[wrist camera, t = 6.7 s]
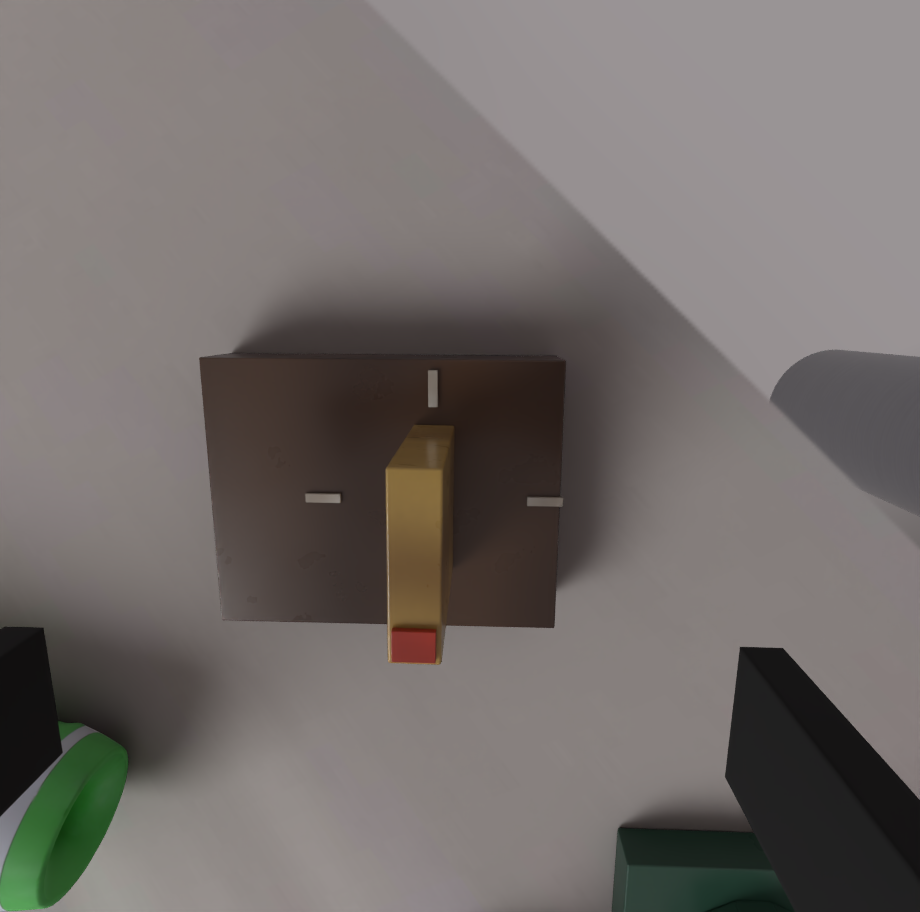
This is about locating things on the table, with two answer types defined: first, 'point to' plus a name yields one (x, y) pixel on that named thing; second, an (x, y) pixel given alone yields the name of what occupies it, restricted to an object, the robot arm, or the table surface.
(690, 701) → the table surface
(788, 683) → the robot arm
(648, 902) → the green button panel
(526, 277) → the table surface
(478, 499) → the plate
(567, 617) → the table surface
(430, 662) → the gold block
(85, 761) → the speaker
